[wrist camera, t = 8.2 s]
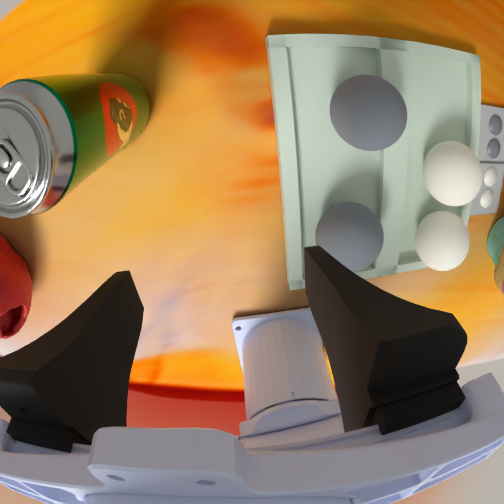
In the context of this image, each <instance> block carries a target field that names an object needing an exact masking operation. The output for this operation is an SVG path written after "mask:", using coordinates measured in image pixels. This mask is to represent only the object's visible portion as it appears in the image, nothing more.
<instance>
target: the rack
mask: <svg viewBox="0 0 504 504" xmlns="http://www.w3.org/2000/svg"><path fill="white" fill-rule="evenodd" d="M265 42H266V50H267V58H268V67H269V76H270V84H271V93H272V103H273V112H274V122H275V132H276V142H277V153H278V164H279V175H280V187H281V199H282V212H283V225H284V239H285V253H286V268H287V282H288V285H289V289H290V291H291V290H298V289H305V264H304V247H310V246H316V239H315V233H316V228H317V225H318V222H319V220H320V218H321V217H322V215H323V214H324V213H325V212H326V211H327V210H328V209H329V208H331V207H332V206H334V205H337V204H339V203H343V202H355V203H360V204H362V205H364V206H366V207H368V208H369V209H371V210H372V211H373V212H374V213H375V214H376V216H377V217H378V218H379V220H380V222H381V225H382V228H383V233H384V242H383V247H382V250H381V252H380V254H379V256H378V257H377V259H376V260H375V261H374V262H373V263H372V264H371V265H370V266H368V267H366V268H365V269H362V270H360V271H356V272H354V273H355V274H357V275H358V276H360V277H361V278H363V279H367V278H373V277H379V276H385V275H390V274H396V273H401V272H407V271H412V270H418V269H423V268H428V266H427V265H426V264H424V263H423V262H422V260H421V259H420V257H419V255H418V253H417V251H416V247H415V234H416V230H417V227H418V225H419V224H420V222H421V221H422V220H423V219H424V218H425V217H426V216H427V215H428V214H430V213H432V212H435V211H449V212H452V213H454V214H456V215H457V216H458V217H460V218H461V219H462V220H463V222H464V223H465V225H466V227H467V225H468V220H469V215H470V209H471V203H472V201H470V202H469V203H467V204H465V205H462V206H448V205H445V204H443V203H441V202H439V201H438V200H436V199H435V198H434V197H433V196H432V195H431V194H430V192H429V191H428V189H427V187H426V185H425V182H424V179H423V163H424V160H425V157H426V155H427V153H428V152H429V151H430V150H431V149H432V148H433V147H434V146H435V145H437V144H439V143H441V142H444V141H456V142H459V143H462V144H464V145H466V146H467V147H469V148H470V149H471V150H472V151H473V152H474V153H475V155H476V156H477V158H478V150H479V137H480V120H481V69H480V56H478V55H475V54H471V53H467V52H463V51H459V50H455V49H450V48H446V47H441V46H436V45H431V44H425V43H420V42H414V41H407V40H400V39H392V38H383V37H374V36H361V35H345V34H282V35H267V36H266V38H265ZM357 75H374V76H378V77H380V78H383V79H385V80H386V81H388V82H389V83H391V84H392V85H393V86H394V87H395V88H396V89H397V90H398V91H399V92H400V94H401V96H402V97H403V99H404V102H405V105H406V108H407V124H406V127H405V130H404V132H403V134H402V136H401V137H400V138H399V139H398V141H396V142H395V143H394V144H393V145H391V146H390V147H388V148H385V149H383V150H378V151H365V150H361V149H357V148H355V147H353V146H351V145H349V144H348V143H347V142H345V141H344V140H343V139H342V138H341V137H340V136H339V135H338V133H337V132H336V130H335V129H334V126H333V124H332V122H331V118H330V102H331V98H332V95H333V93H334V92H335V90H336V89H337V87H338V86H339V85H340V84H341V83H342V82H344V81H345V80H347V79H349V78H351V77H353V76H357Z"/></svg>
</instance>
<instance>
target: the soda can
mask: <svg viewBox="0 0 504 504" xmlns="http://www.w3.org/2000/svg"><path fill="white" fill-rule="evenodd" d="M149 114H150V103H149V98H148V95H147V93H146V91H145V89H144V87H143V86H142V85H141V84H140V83H139V82H138V81H137V80H136V79H134V78H133V77H131V76H129V75H126V74H122V73H88V74H68V75H54V76H43V77H34V78H26V79H18V80H15V81H12V82H9V83H7V84H6V85H4V86H2V87H1V88H0V216H1V217H4V218H19V217H23V216H26V215H36V214H40V213H43V212H45V211H47V210H49V209H51V208H52V207H53V206H55V205H56V204H57V203H58V202H60V201H61V200H62V199H63V198H64V197H65V196H66V195H67V194H69V193H70V192H71V191H72V190H73V189H74V188H75V187H77V186H78V185H79V184H80V183H81V182H82V181H84V180H85V179H86V178H87V177H88V176H90V175H91V174H92V173H93V172H95V171H96V170H97V169H98V168H100V167H101V166H102V165H103V164H105V163H106V162H107V161H108V160H110V159H111V158H112V157H114V156H115V155H116V154H117V153H119V152H120V151H121V150H123V149H124V148H126V147H127V146H128V145H130V144H131V143H132V142H134V141H135V140H136V139H137V138H138V137H139V136H140V135H141V134H142V132H143V131H144V129H145V127H146V125H147V122H148V119H149Z"/></svg>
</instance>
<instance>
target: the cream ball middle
mask: <svg viewBox="0 0 504 504" xmlns="http://www.w3.org/2000/svg"><path fill="white" fill-rule="evenodd" d="M423 179H424V182H425V185H426V187H427V189H428V191H429V192H430V194H431V195H432V196H433V197H434V198H435V199H436V200H438V201H439V202H441V203H443V204H445V205H448V206H462V205H465V204H467V203H469V202H470V201H472V200H473V199H474V198H475V197H476V195H477V194H478V192H479V190H480V188H481V185H482V179H483V174H482V167H481V164H480V162H479V159H478V158H477V156H476V155H475V153H474V152H473V151H472V150H471V149H470V148H469V147H467V146H466V145H464V144H462V143H459V142H456V141H444V142H441V143H439V144H437V145H435V146H434V147H433V148H432V149H431V150H430V151H429V152H428V153H427V155H426V157H425V160H424V163H423Z"/></svg>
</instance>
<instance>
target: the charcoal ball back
mask: <svg viewBox="0 0 504 504" xmlns="http://www.w3.org/2000/svg"><path fill="white" fill-rule="evenodd" d="M315 239H316V246H317V245H319V246H320V247H322V248H323V249H324V250H325V251H327V252H328V253H329V254H330V255H331V256H333V257H334V258H335V259H336V260H338V261H339V262H340V263H341V264H343V265H344V266H345V267H347V268H348V269H349V270H351V271H352V272H356V271H360V270H362V269H365V268H366V267H368V266H370V265H371V264H372V263H373V262H374V261H375V260H376V259H377V257H378V256H379V254H380V252H381V250H382V247H383V242H384V233H383V228H382V225H381V222H380V220H379V218H378V217H377V216H376V214H375V213H374V212H373V211H372V210H371V209H369V208H368V207H366V206H364V205H362V204H360V203H355V202H343V203H339V204H337V205H334V206H332V207H331V208H329V209H328V210H327V211H326V212H325V213H324V214H323V215H322V217H321V218H320V220H319V222H318V225H317V228H316V233H315Z"/></svg>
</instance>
